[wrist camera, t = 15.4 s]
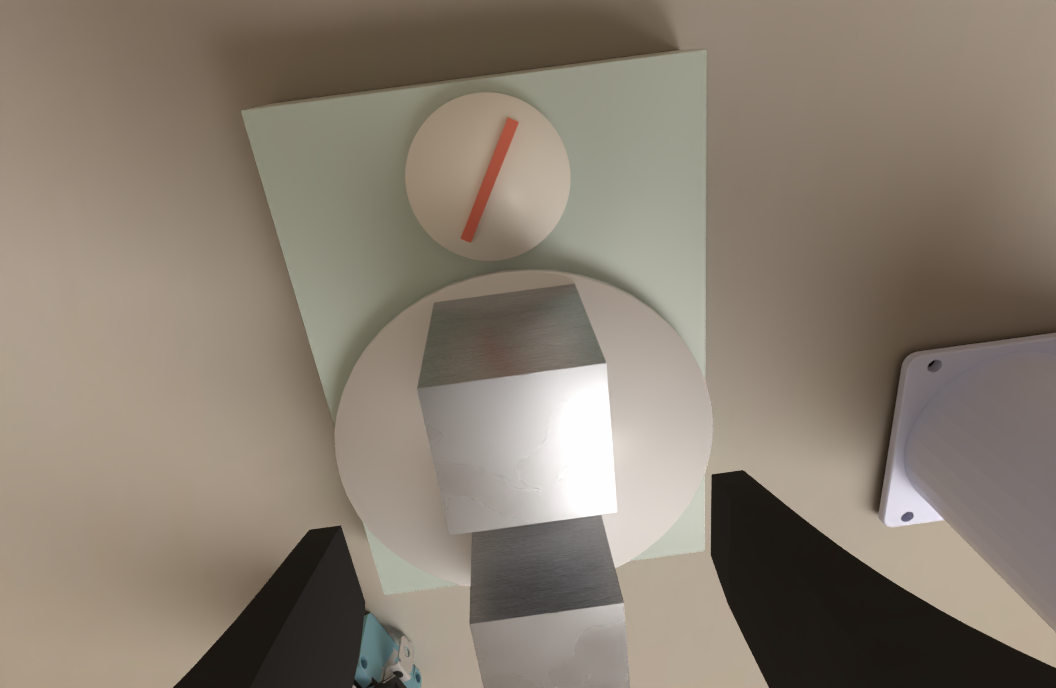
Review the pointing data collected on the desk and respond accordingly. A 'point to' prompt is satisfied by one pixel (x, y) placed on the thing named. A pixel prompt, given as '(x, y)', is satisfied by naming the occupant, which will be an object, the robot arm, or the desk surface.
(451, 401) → the block
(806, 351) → the desk surface
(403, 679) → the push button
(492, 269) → the scale
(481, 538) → the block
